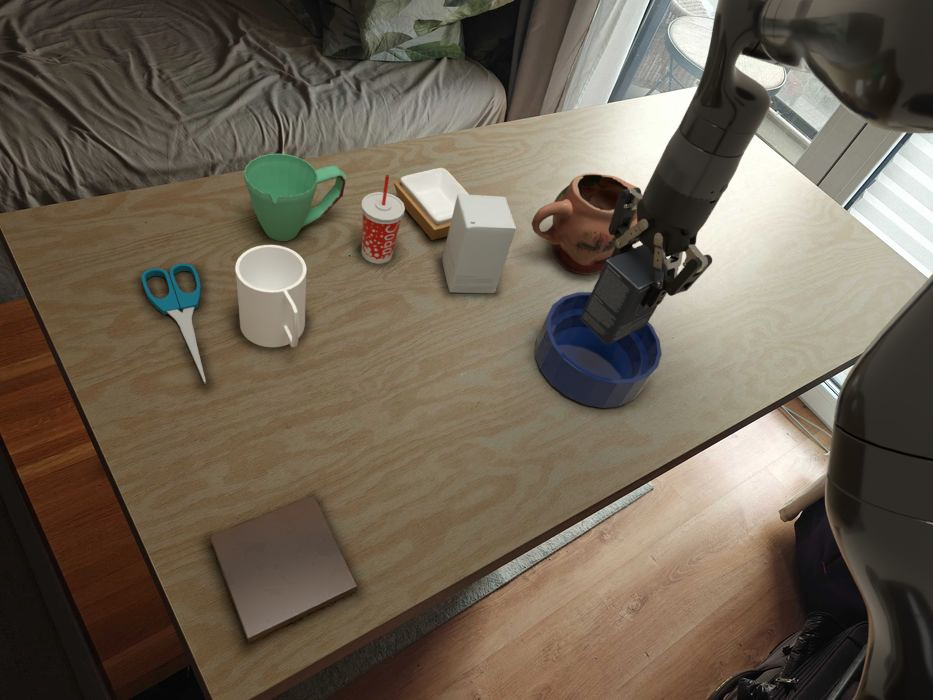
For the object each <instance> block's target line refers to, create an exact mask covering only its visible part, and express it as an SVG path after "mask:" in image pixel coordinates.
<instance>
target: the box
mask: <svg viewBox="0 0 933 700" xmlns="http://www.w3.org/2000/svg"><path fill="white" fill-rule="evenodd" d="M666 259H668V257H665V260H666ZM653 261H654V255H653V254H652V253H651V252H650V250H649V248H648V247H647V246H645V245H643V244H641V245H638V246H636V247H634V248H633V249H631V250H629V251H627V252H624V253H622V254H620V255H617V256H615V257H613V258H610V259H608V260H607V261H606V263H605V265H604V267H603V269H602V271H601V272H600V274H599V276H598V278H597V280H596V282H595V284H594V286H593V288H592V291H591V292H592V293H591V295H590V297H589V299H588V301H587V303H586V305H585V307H584V310H583V312H582V314H581V316H580V319H581V320H582V321H583V322H584V323H585V324H586V325H587V326H588V327H589V328H590V329H591V330H592V331H593V332H594V333H595V334H596V335H597V336H598V337H599V338H600V339H601V340H602V341H603V342H604V343H605V344H606V345H610V344H612V343H614V342H616V341H618V340H620V339H622V338H624V337H625V336H627V335H629V334H631V333H633V332H635V331H637V330H639V329H640V328H642V327H644V326H646V325H647V323H648V322H650V320H651V318H652V316H653V314H654V313H655V311H656V309H657V307H658V306H659V305H657V306H654V307H651V308H649V307H648V308H644V307H643V306H642V305H641V302H642V300H643V298H644V296H645V295H646V293H647V291H648V289H649V287H650V286H651V284H652V283H654V280H655V269H654V268H653ZM666 273H667V272H666Z"/></svg>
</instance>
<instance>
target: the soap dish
mask: <svg viewBox="0 0 933 700" xmlns="http://www.w3.org/2000/svg"><path fill="white" fill-rule="evenodd" d="M393 187H394V189H395V191H396V192H395V193H396V195H397V198H399V199H400V200H401V201H402V202H403V203H404V207H405V210H406V212H408V213H409V215H410V216H411V217H412V218H413V219H414V221H415V222H416V223H417V224H418V225H419V227H420V228H421V229H422V230H423V232H424V233H425V234H426V235H427V236H428V238H429V239H430V240H431V241H436V240H439V239H443V238H447V237H448V233H449V229H450V224H451V220H452V215H453V211H454V207H455V203H456V199H457V195H458V194H464V195H470V193H468V191H467V190H466V189H465V188H464V187H463V185H461V184H460V182H459V181H458V180H456V178H455V177H454V176H453V175H452V174H451V173H450V172H449V171H448V169H446V168H445V167H438V168H433V169H428V170H424V171H419V172H415V173H410V174H407V175H403V176H402V177H400V179H399V180H394V181H393Z"/></svg>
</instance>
